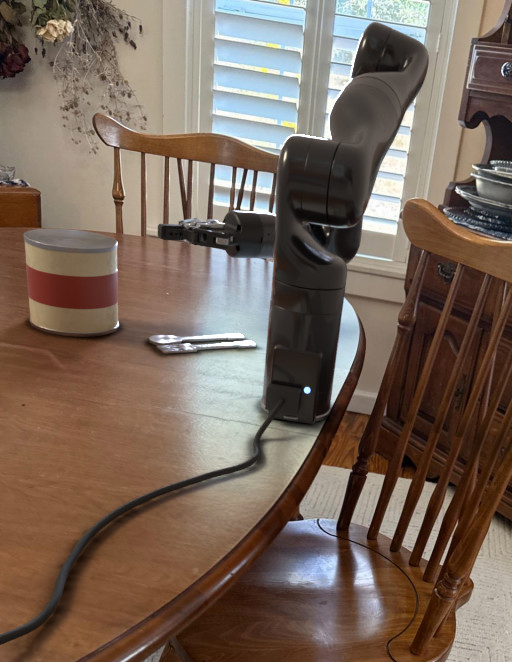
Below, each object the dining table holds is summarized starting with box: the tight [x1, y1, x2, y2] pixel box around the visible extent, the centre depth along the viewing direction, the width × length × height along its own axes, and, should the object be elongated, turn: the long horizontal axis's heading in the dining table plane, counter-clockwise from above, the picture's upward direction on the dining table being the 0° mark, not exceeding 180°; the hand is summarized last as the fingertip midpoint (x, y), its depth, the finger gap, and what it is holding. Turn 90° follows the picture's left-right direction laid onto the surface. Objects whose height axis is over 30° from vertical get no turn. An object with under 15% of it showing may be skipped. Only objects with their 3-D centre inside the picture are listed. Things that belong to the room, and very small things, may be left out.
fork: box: [156, 340, 257, 355], centre depth 121 cm, size 16×3×1 cm, turn 126°
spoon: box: [148, 332, 246, 346], centre depth 124 cm, size 16×4×1 cm, turn 126°
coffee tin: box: [23, 228, 120, 338], centre depth 119 cm, size 13×13×13 cm
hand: (159, 231), depth 124 cm, fingers closed
